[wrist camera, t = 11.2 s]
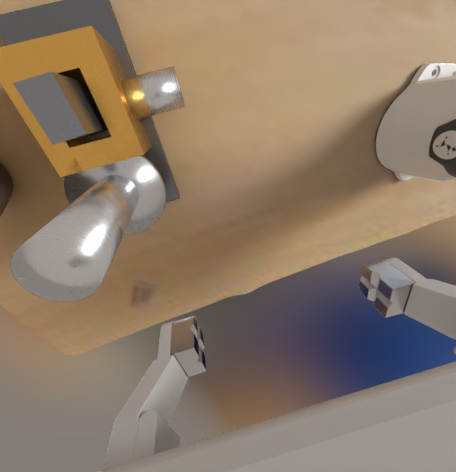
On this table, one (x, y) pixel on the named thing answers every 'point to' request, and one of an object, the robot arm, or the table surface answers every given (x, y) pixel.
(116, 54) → the gold block fixture
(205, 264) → the table surface
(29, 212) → the table surface
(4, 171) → the plant pot
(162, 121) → the table surface
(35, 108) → the grey square rod
